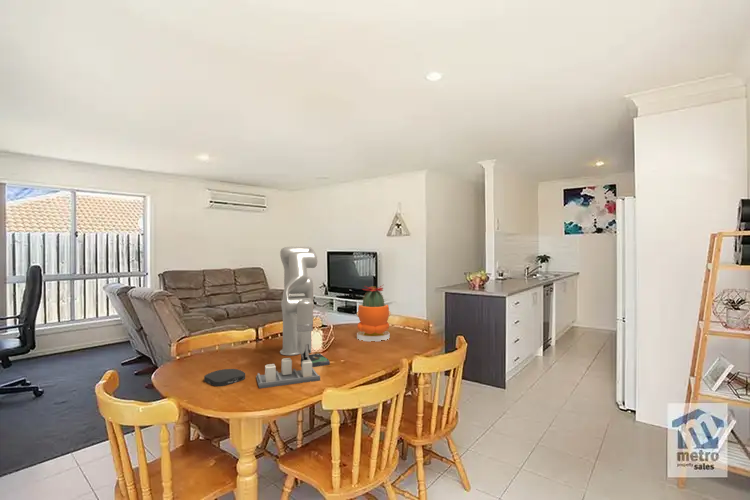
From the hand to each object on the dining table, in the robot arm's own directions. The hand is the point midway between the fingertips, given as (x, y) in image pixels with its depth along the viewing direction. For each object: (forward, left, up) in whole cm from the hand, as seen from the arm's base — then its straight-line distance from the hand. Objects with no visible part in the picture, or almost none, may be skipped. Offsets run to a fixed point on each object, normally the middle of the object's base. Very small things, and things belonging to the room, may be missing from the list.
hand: (304, 367), depth 173 cm
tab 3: (+4, 0, -2) cm, 5 cm away
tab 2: (-1, -8, -2) cm, 8 cm away
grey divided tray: (+2, -8, -4) cm, 9 cm away
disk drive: (-18, +9, -4) cm, 21 cm away
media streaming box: (-8, -34, -4) cm, 35 cm away
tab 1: (+5, -16, -2) cm, 17 cm away
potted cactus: (-52, +56, -4) cm, 77 cm away
